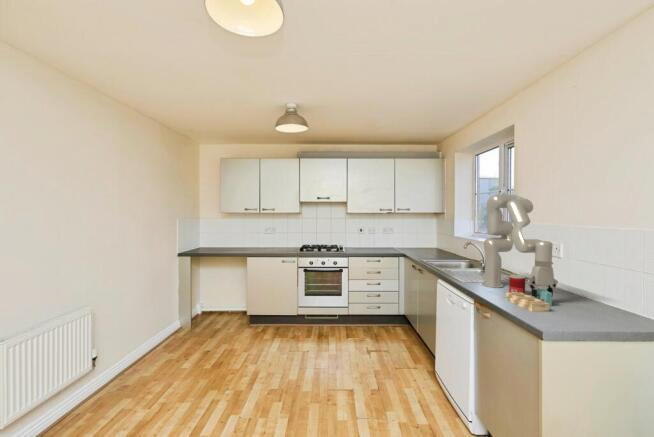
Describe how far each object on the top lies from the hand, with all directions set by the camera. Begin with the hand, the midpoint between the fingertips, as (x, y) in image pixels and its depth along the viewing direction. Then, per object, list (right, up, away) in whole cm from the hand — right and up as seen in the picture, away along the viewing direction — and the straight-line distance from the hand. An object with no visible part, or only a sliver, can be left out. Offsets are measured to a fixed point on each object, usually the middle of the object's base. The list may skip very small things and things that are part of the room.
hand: (542, 296), depth 169 cm
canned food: (-3, -3, +17) cm, 18 cm away
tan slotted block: (-11, -4, -4) cm, 12 cm away
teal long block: (0, -4, 0) cm, 4 cm away
